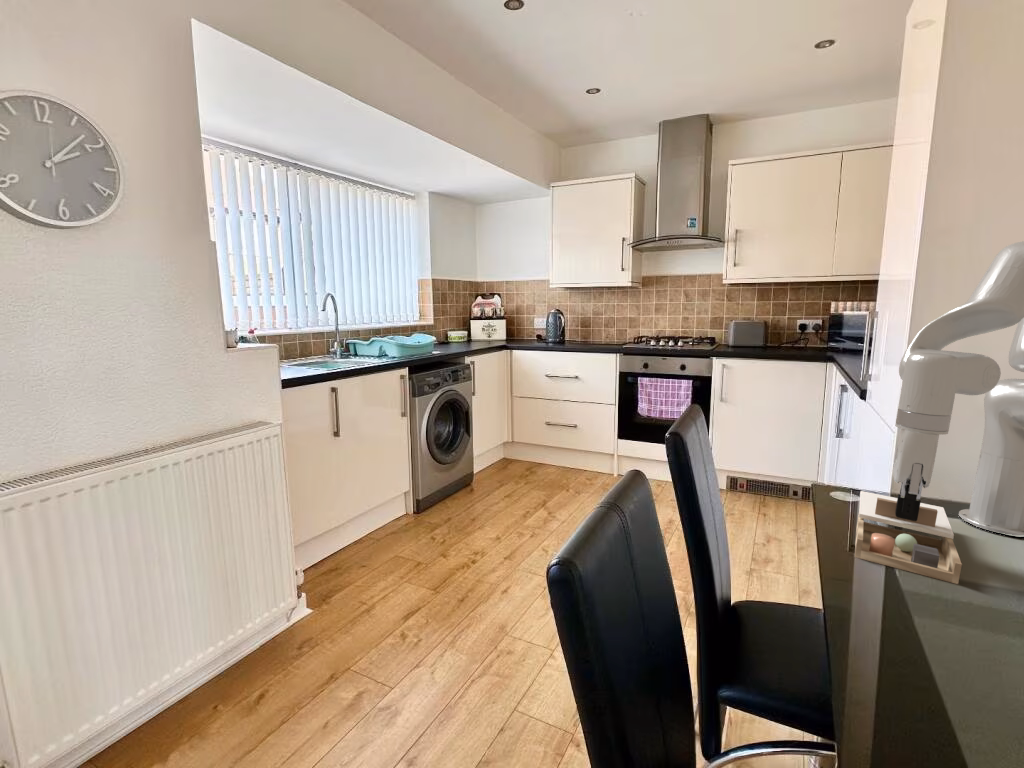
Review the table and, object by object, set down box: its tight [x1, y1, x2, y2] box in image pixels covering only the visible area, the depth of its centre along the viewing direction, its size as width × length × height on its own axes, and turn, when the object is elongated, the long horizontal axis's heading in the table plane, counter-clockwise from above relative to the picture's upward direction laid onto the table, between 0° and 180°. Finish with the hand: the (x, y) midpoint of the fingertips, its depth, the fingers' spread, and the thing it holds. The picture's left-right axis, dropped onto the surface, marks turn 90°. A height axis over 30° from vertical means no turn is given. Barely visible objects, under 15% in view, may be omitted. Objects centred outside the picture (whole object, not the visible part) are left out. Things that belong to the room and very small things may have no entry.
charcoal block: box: [911, 544, 939, 568], centre depth 87 cm, size 3×3×3 cm
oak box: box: [854, 513, 963, 585], centre depth 92 cm, size 16×14×4 cm
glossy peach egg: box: [869, 533, 895, 557], centre depth 91 cm, size 3×3×3 cm
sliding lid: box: [858, 490, 955, 540], centre depth 101 cm, size 16×14×4 cm
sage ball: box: [895, 534, 917, 552], centre depth 93 cm, size 3×3×3 cm
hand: (905, 517), depth 94 cm, fingers closed
